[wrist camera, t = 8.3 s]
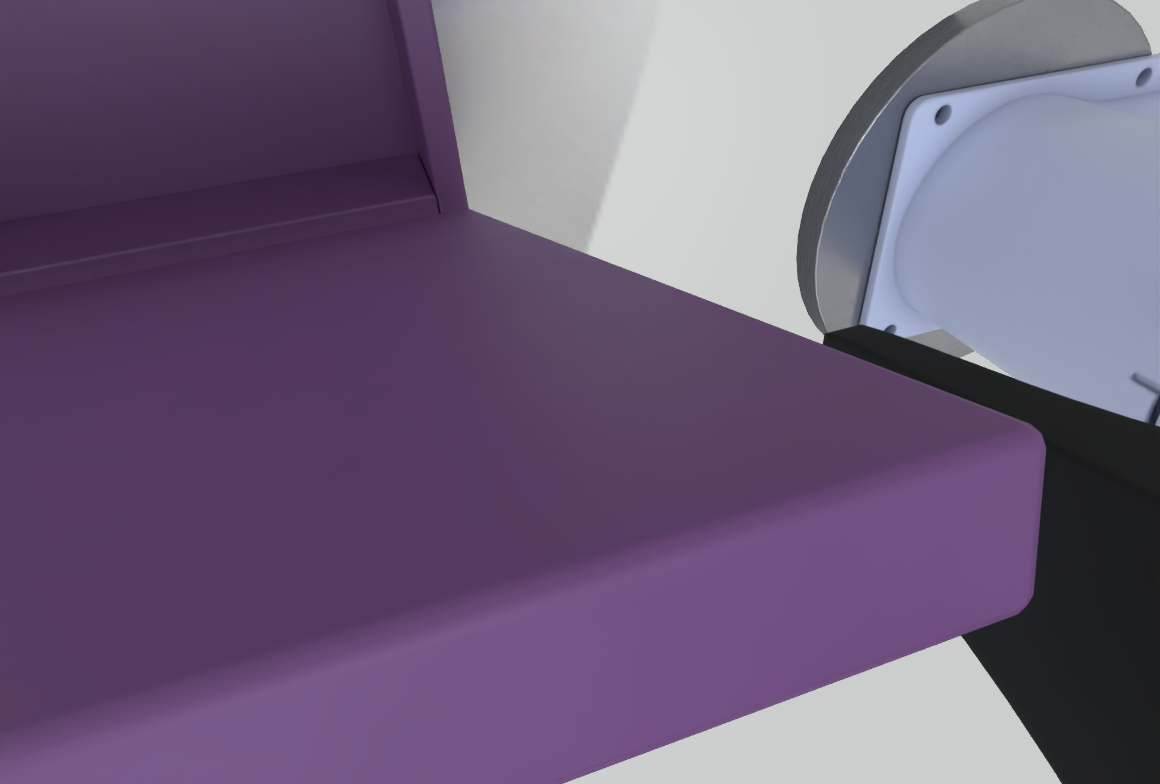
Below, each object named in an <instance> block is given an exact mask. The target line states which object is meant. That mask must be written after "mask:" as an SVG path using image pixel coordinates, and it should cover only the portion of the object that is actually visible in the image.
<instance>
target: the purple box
mask: <svg viewBox="0 0 1160 784" xmlns="http://www.w3.org/2000/svg"><path fill="white" fill-rule="evenodd" d="M464 209H469V208H468V203H467V197H466V192H465V186H464V181H463V175H462V170H461V164H460V159H459V153H458V148H457V142H456V137H455V131H454V126H453V120H452V114H451V109H450V103H449V98H448V92H447V87H446V81H445V76H444V70H443V65H442V59H441V54H440V48H439V43H438V37H437V32H436V26H435V21H434V15H433V10H432V4H431V0H0V297H1V296H7V295H12V294H17V293H23V292H28V291H33V290H39V289H44V288H49V287H55V286H60V285H65V284H71V283H76V282H81V281H87V280H92V279H97V278H102V277H108V276H113V275H118V274H124V273H129V272H134V271H140V270H145V269H150V268H156V267H161V266H166V265H172V264H177V263H182V262H188V261H193V260H198V259H203V258H209V257H214V256H219V255H225V254H230V253H235V252H241V251H246V250H251V249H257V248H262V247H267V246H273V245H278V244H283V243H289V242H294V241H299V240H305V239H310V238H315V237H320V236H326V235H331V234H336V233H342V232H347V231H352V230H358V229H363V228H368V227H374V226H379V225H384V224H390V223H395V222H400V221H406V220H411V219H416V218H422V217H427V216H432V215H437V214H443V213H448V212H453V211H459V210H464Z"/></svg>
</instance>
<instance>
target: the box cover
mask: <svg viewBox="0 0 1160 784" xmlns="http://www.w3.org/2000/svg"><path fill="white" fill-rule="evenodd" d="M1045 457H1046V445H1045V442H1044V439H1043V436H1042V434H1041V433H1040V432H1039V431H1038V430H1037V429H1036V428H1035V427H1033V426H1032V425H1031V424H1029V423H1026V422H1024V421H1021V420H1018V419H1016V418H1013V417H1011V416H1008V415H1005V414H1003V413H1000V412H998V411H995V410H992V409H990V408H987V407H984V406H982V405H979V404H977V403H974V402H971V401H969V400H966V399H964V398H961V397H958V396H956V395H953V394H951V393H948V392H945V391H943V390H940V389H937V388H935V387H932V386H930V385H927V384H924V383H922V382H919V381H917V380H914V379H911V378H909V377H906V376H904V375H901V374H898V373H896V372H893V371H890V370H888V369H885V368H883V367H880V366H877V365H875V364H872V363H870V362H867V361H864V360H862V359H859V358H857V357H854V356H851V355H849V354H846V353H843V352H841V351H838V350H836V349H833V348H830V347H828V346H825V345H823V344H820V343H817V342H815V341H812V340H810V339H807V338H804V337H802V336H799V335H796V334H794V333H791V332H789V331H786V330H783V329H780V328H778V327H775V326H773V325H770V324H768V323H765V322H762V321H760V320H757V319H755V318H752V317H749V316H747V315H744V314H741V313H739V312H736V311H734V310H731V309H728V308H726V307H723V306H721V305H718V304H715V303H713V302H710V301H708V300H705V299H702V298H700V297H697V296H695V295H692V294H689V293H687V292H684V291H682V290H679V289H676V288H674V287H671V286H668V285H665V284H663V283H660V282H658V281H655V280H653V279H650V278H648V277H645V276H642V275H640V274H637V273H635V272H632V271H629V270H626V269H624V268H621V267H619V266H616V265H613V264H611V263H608V262H606V261H603V260H601V259H598V258H595V257H592V256H590V255H588V254H585V253H582V252H580V251H577V250H574V249H572V248H569V247H567V246H564V245H561V244H559V243H556V242H554V241H551V240H548V239H546V238H543V237H541V236H538V235H535V234H533V233H530V232H527V231H525V230H522V229H520V228H517V227H514V226H512V225H509V224H507V223H504V222H501V221H499V220H496V219H494V218H491V217H488V216H486V215H483V214H480V213H478V212H475V211H473V210H470V209H464V210H459V211H453V212H448V213H443V214H437V215H432V216H427V217H422V218H416V219H411V220H406V221H400V222H395V223H390V224H384V225H379V226H374V227H368V228H363V229H358V230H352V231H347V232H342V233H336V234H331V235H326V236H320V237H315V238H310V239H305V240H299V241H294V242H289V243H283V244H278V245H273V246H267V247H262V248H257V249H251V250H246V251H241V252H235V253H230V254H225V255H219V256H214V257H209V258H203V259H198V260H193V261H188V262H182V263H177V264H172V265H166V266H161V267H156V268H150V269H145V270H140V271H134V272H129V273H124V274H118V275H113V276H108V277H102V278H97V279H92V280H87V281H81V282H76V283H71V284H65V285H60V286H55V287H49V288H44V289H39V290H33V291H28V292H23V293H17V294H12V295H7V296H1V297H0V784H563V783H566V782H568V781H571V780H574V779H576V778H579V777H582V776H584V775H587V774H590V773H593V772H595V771H598V770H601V769H603V768H606V767H609V766H611V765H614V764H617V763H619V762H622V761H625V760H627V759H630V758H633V757H635V756H638V755H640V754H644V753H646V752H649V751H652V750H654V749H657V748H659V747H662V746H665V745H668V744H670V743H673V742H676V741H678V740H681V739H684V738H687V737H689V736H692V735H695V734H697V733H700V732H703V731H705V730H708V729H711V728H713V727H716V726H719V725H721V724H724V723H727V722H730V721H732V720H735V719H738V718H740V717H743V716H746V715H748V714H751V713H754V712H756V711H759V710H762V709H765V708H767V707H770V706H773V705H775V704H778V703H781V702H783V701H786V700H789V699H791V698H794V697H797V696H800V695H802V694H805V693H808V692H810V691H813V690H816V689H818V688H821V687H823V686H826V685H829V684H832V683H834V682H837V681H840V680H842V679H845V678H848V677H851V676H853V675H856V674H859V673H861V672H864V671H867V670H869V669H872V668H875V667H877V666H880V665H883V664H885V663H888V662H891V661H894V660H896V659H899V658H901V657H904V656H907V655H910V654H912V653H915V652H918V651H920V650H923V649H926V648H928V647H931V646H934V645H937V644H939V643H942V642H945V641H947V640H950V639H953V638H955V637H958V636H961V635H964V634H966V633H969V632H972V631H974V630H977V629H980V628H982V627H985V626H988V625H990V624H993V623H996V622H998V621H1001V620H1004V619H1007V618H1009V617H1012V616H1015V615H1017V614H1019V613H1020V612H1021V611H1022V610H1023V609H1024V608H1025V607H1026V606H1027V605H1028V603H1029V601H1030V600H1031V598H1032V596H1033V594H1034V583H1035V571H1036V560H1037V548H1038V537H1039V525H1040V514H1041V502H1042V491H1043V480H1044V468H1045Z"/></svg>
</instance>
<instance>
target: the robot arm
mask: <svg viewBox="0 0 1160 784" xmlns="http://www.w3.org/2000/svg"><path fill="white" fill-rule="evenodd" d="M940 108H941V112H940V114H939V116H938V117H937V118H936V119H935V116H936V113H937V111H938V110H939V109H940ZM938 329H943V330H945V331H946V332H948V333H949V334H951V335H952V336H954V337H955V338H957V339H958V340H960V341H961V342H962V343H964V344H965V345H967V346H968V347H970V348H971V349H973V350H974V351H976V352H977V353H979V354H980V355H981V356H983V357H984V358H986V359H987V360H989V361H991V362H992V363H993V364H995V365H996V366H998V367H999V368H1000V369H1002V370H1004V371H1005V372H1006V373H1008V374H1009V375H1011V376H1012V377H1014V378H1015V379H1014V378H1012V377H1009V376H1006V375H1003V374H1001V373H998V372H995V371H993V370H990V369H987V368H985V367H982V366H979V365H977V364H974V363H971V362H969V361H966V360H963V359H961V358H958V357H955V356H953V355H950V354H947V353H945V352H942V351H939V350H937V349H934V348H931V347H928V346H926V345H923V344H920V343H917V342H915V341H912V340H909V339H906V338H907V337H911V336H915V335H919V334H922V333H926V332H930V331H934V330H938ZM823 345H825V346H828V347H830V348H833V349H836V350H838V351H841V352H843V353H846V354H849V355H851V356H854V357H857V358H859V359H862V360H864V361H867V362H870V363H872V364H875V365H877V366H880V367H883V368H885V369H888V370H890V371H893V372H896V373H898V374H901V375H904V376H906V377H909V378H911V379H914V380H917V381H919V382H922V383H924V384H927V385H930V386H932V387H935V388H937V389H940V390H943V391H945V392H948V393H951V394H953V395H956V396H958V397H961V398H964V399H966V400H969V401H971V402H974V403H977V404H979V405H982V406H984V407H987V408H990V409H992V410H995V411H998V412H1000V413H1003V414H1005V415H1008V416H1011V417H1013V418H1016V419H1018V420H1021V421H1024V422H1026V423H1029V424H1031V425H1032V426H1033V427H1035V428H1036V429H1037V430H1038V431H1039V432H1040V433H1041V434H1042V436H1043V439H1044V442H1045V445H1046V457H1045V468H1044V480H1043V491H1042V502H1041V514H1040V525H1039V537H1038V548H1037V560H1036V571H1035V583H1034V594H1033V596H1032V598H1031V600H1030V601H1029V603H1028V605H1027V606H1026V607H1025V608H1024V609H1023V610H1022V611H1021V612H1020V613H1019V614H1017V615H1015V616H1012V617H1009V618H1007V619H1004V620H1001V621H998V622H996V623H993V624H990V625H988V626H985V627H982V628H980V629H977V630H974V631H972V632H969V633H966V634H964V635H961V636H962V637H963V639H964V640H965V641H966V643H967V644H968V645H969V647H970V648H971V650H972V651H973V653H974V654H975V655H976V657H977V658H978V660H979V661H980V662H981V664H982V665H983V667H984V668H985V670H986V671H987V672H988V674H989V675H990V677H991V678H992V679H993V681H994V682H995V684H996V685H997V686H998V688H999V689H1000V691H1001V692H1002V694H1003V695H1004V696H1005V698H1006V699H1007V701H1008V702H1009V704H1010V705H1011V707H1012V708H1013V710H1014V711H1015V713H1016V714H1017V716H1018V717H1019V719H1020V720H1021V722H1022V723H1023V725H1024V726H1025V728H1026V729H1027V731H1028V732H1029V734H1030V735H1031V737H1032V738H1033V740H1034V741H1035V743H1036V744H1037V746H1038V747H1039V749H1040V750H1041V752H1042V753H1043V755H1044V756H1045V758H1046V759H1047V761H1048V762H1049V764H1050V766H1051V767H1052V769H1053V770H1054V772H1055V773H1056V775H1057V777H1058V778H1059V780H1060V781H1061V783H1062V784H1160V53H1159V54H1154V55H1148V56H1143V57H1137V58H1131V59H1126V60H1120V61H1115V62H1109V63H1103V64H1098V65H1092V66H1086V67H1081V68H1075V69H1070V70H1064V71H1058V72H1053V73H1047V74H1042V75H1036V76H1030V77H1025V78H1019V79H1014V80H1008V81H1002V82H997V83H991V84H986V85H980V86H974V87H969V88H963V89H958V90H952V91H946V92H941V93H935V94H930V95H924V96H921V97H919V98H917V99H915V100H914V101H913V102H912V103H911V104H910V105H909V107H908V108H907V110H906V112H905V115H904V118H903V122H902V127H901V132H900V136H899V141H898V146H897V150H896V155H895V160H894V164H893V169H892V174H891V178H890V183H889V188H888V192H887V197H886V202H885V206H884V211H883V216H882V220H881V225H880V230H879V234H878V239H877V244H876V248H875V253H874V258H873V262H872V267H871V272H870V276H869V281H868V286H867V290H866V295H865V300H864V304H863V309H862V314H861V318H860V323H859V325H856V326H852V327H848V328H844V329H841V330H837V331H833V332H829V333H825V335H824V341H823Z"/></svg>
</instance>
